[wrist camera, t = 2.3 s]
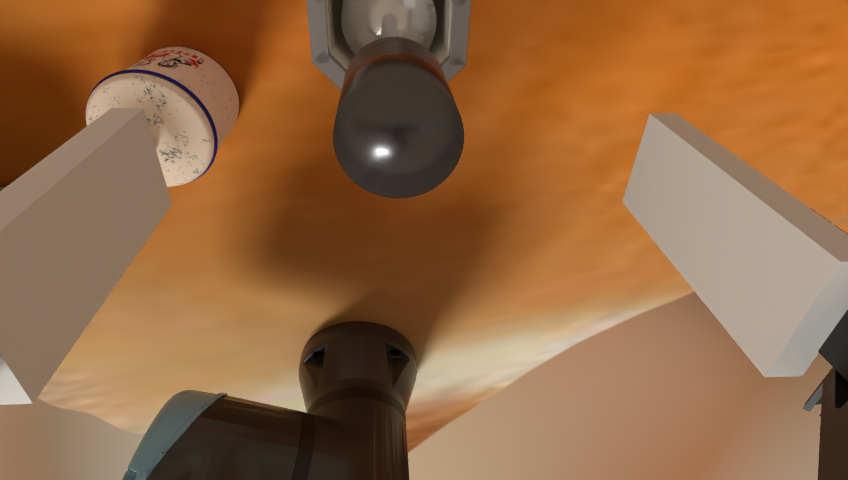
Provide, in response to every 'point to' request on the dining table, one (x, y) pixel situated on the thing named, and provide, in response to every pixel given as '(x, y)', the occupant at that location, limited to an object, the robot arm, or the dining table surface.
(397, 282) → the dining table surface
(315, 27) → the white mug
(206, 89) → the teacup with lid
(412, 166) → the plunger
